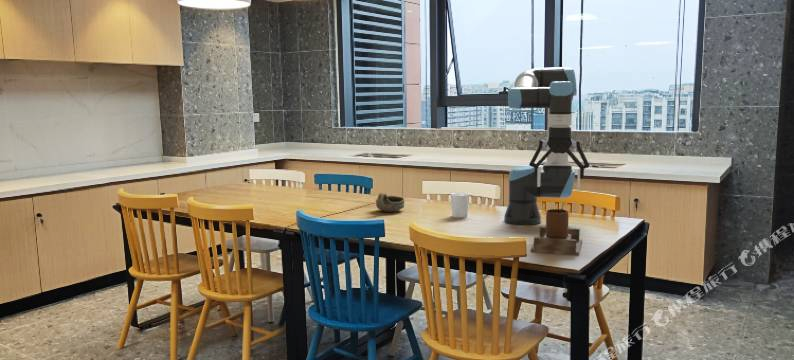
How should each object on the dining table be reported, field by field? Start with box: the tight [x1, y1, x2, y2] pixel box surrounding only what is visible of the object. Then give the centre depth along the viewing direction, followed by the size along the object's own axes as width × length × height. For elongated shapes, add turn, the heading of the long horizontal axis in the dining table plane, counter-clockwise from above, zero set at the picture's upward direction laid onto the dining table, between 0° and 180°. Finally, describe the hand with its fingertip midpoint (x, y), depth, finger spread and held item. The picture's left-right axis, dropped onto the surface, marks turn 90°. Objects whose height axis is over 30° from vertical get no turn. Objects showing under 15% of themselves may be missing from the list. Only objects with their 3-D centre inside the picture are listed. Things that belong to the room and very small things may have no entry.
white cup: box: [450, 192, 470, 219], centre depth 280 cm, size 8×8×10 cm
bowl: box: [374, 192, 405, 213], centre depth 292 cm, size 14×18×10 cm
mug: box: [545, 208, 570, 239], centre depth 224 cm, size 12×8×9 cm, turn 152°
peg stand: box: [530, 226, 583, 256], centre depth 225 cm, size 16×19×5 cm
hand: (558, 187), depth 222 cm, fingers open, 13 cm apart
